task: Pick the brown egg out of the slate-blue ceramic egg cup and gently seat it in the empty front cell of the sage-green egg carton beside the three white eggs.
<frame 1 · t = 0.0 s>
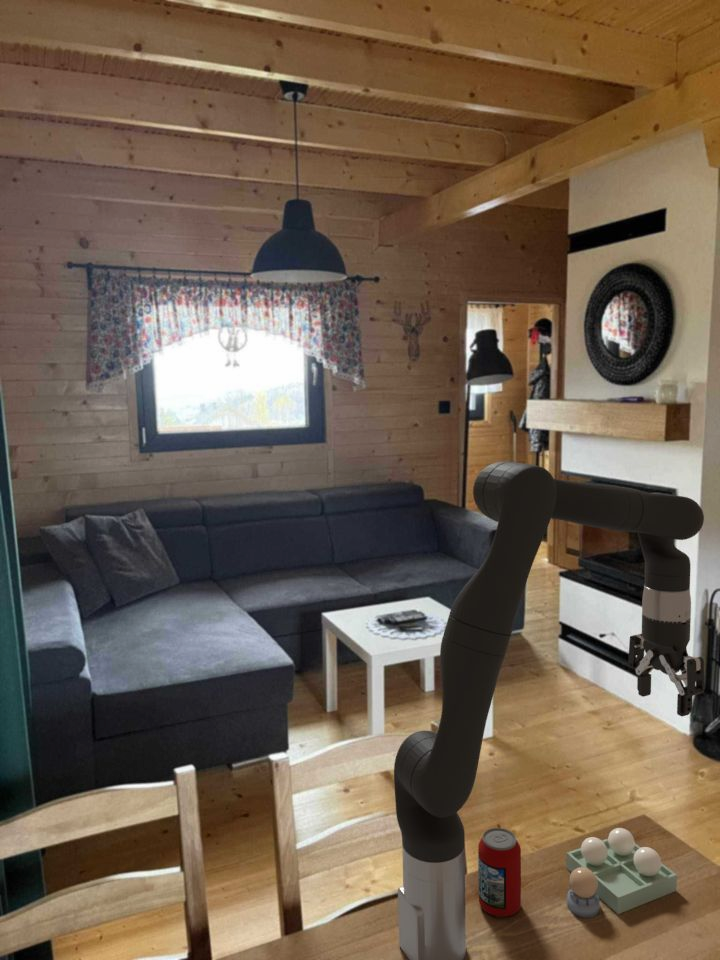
hand: (663, 704, 125), 29 cm above the table, tool pointing down, fingers open, 8 cm apart
white egg A: (594, 863, 127), point 2 cm above the table, touching egg carton
white egg B: (647, 873, 124), point 2 cm above the table, touching egg carton
beverage can: (499, 907, 120), on the table
brown egg: (583, 895, 119), point 2 cm above the table, touching egg cup
white egg C: (621, 853, 129), point 2 cm above the table, touching egg carton
egg cup: (583, 906, 119), on the table
egg carton: (620, 879, 125), on the table
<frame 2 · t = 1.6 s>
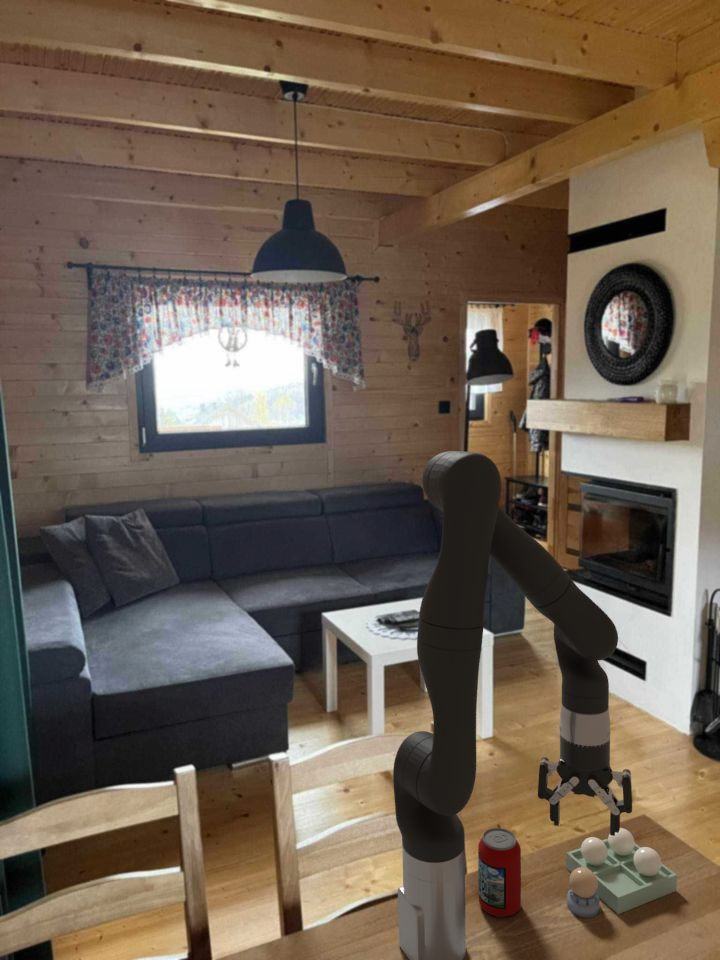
hand: (584, 827, 117), 14 cm above the table, tool pointing down, fingers open, 8 cm apart
nothing on the table moved.
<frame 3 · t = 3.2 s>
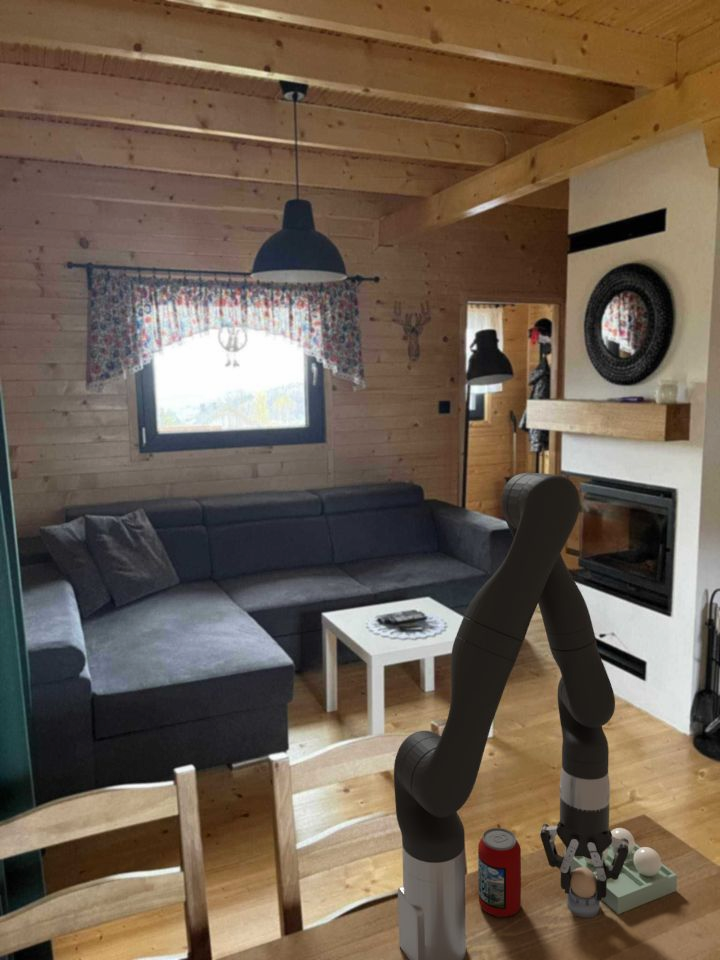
hand: (583, 893, 119), 2 cm above the table, tool pointing down, fingers closed on brown egg, 4 cm apart
brown egg: (583, 895, 119), point 2 cm above the table, touching egg cup, gripper
everything else where it was.
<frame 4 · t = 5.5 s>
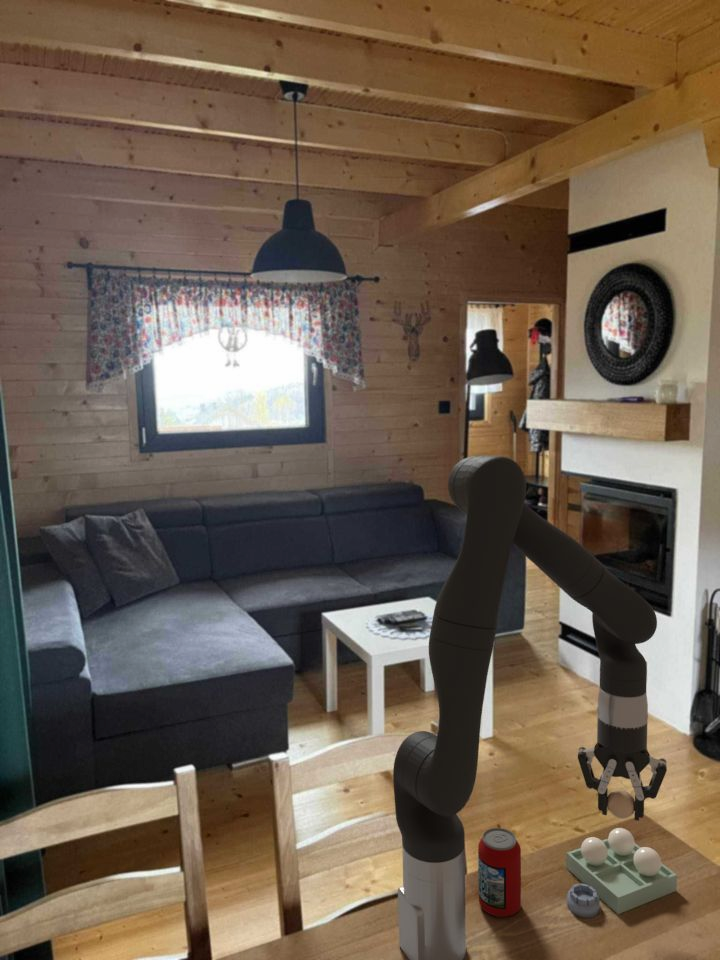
hand: (620, 814, 120), 14 cm above the table, tool pointing down, fingers closed on brown egg, 4 cm apart
brown egg: (620, 816, 120), point 14 cm above the table, touching gripper
everything else where it was.
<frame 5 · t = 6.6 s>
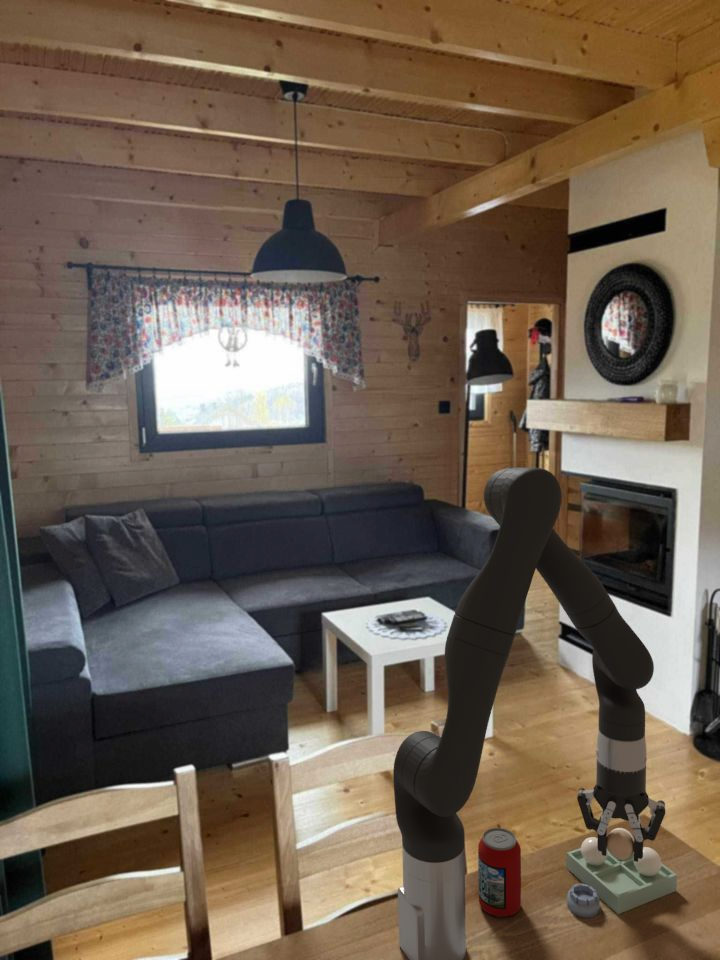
hand: (619, 855, 121), 7 cm above the table, tool pointing down, fingers closed on brown egg, 4 cm apart
brown egg: (620, 856, 121), point 7 cm above the table, touching gripper
everything else where it was.
when the fingers open (3 cm above the table, at t = 7.7 s): brown egg drops 1 cm, resting on egg carton.
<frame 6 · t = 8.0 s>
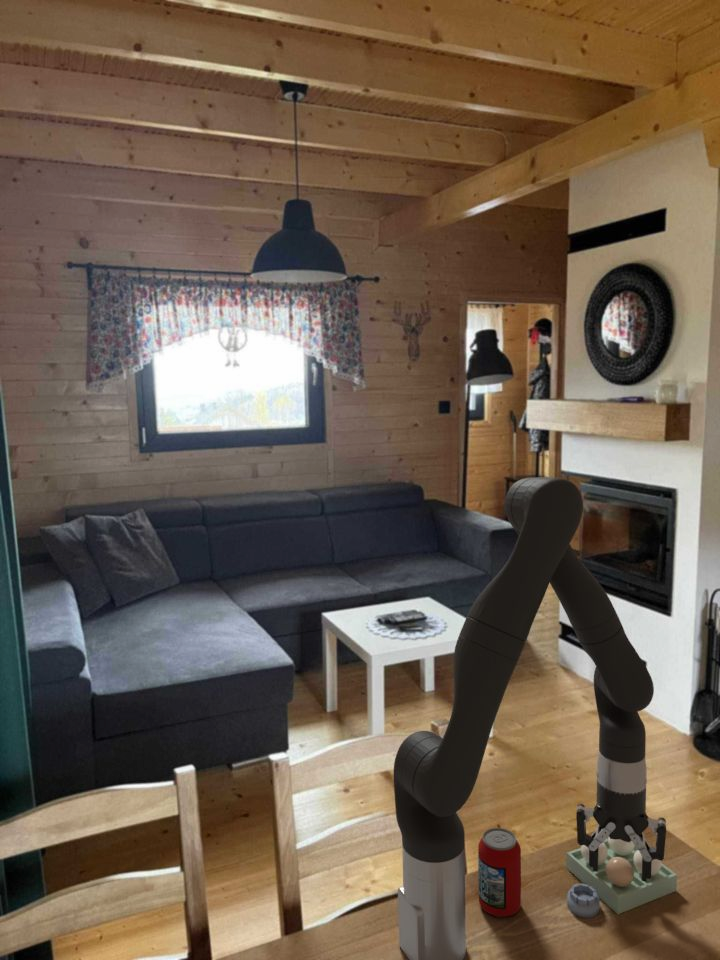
hand: (619, 873, 121), 4 cm above the table, tool pointing down, fingers open, 7 cm apart
brown egg: (619, 884, 121), point 2 cm above the table, touching egg carton
everything else where it was.
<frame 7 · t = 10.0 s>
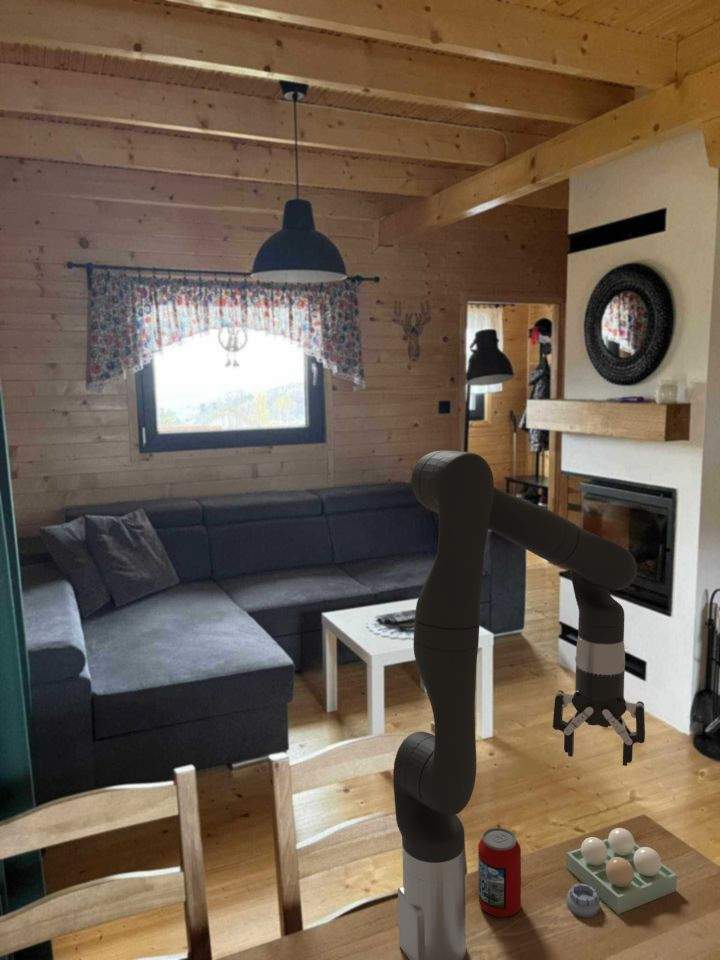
hand: (597, 759, 121), 23 cm above the table, tool pointing down, fingers open, 8 cm apart
nothing on the table moved.
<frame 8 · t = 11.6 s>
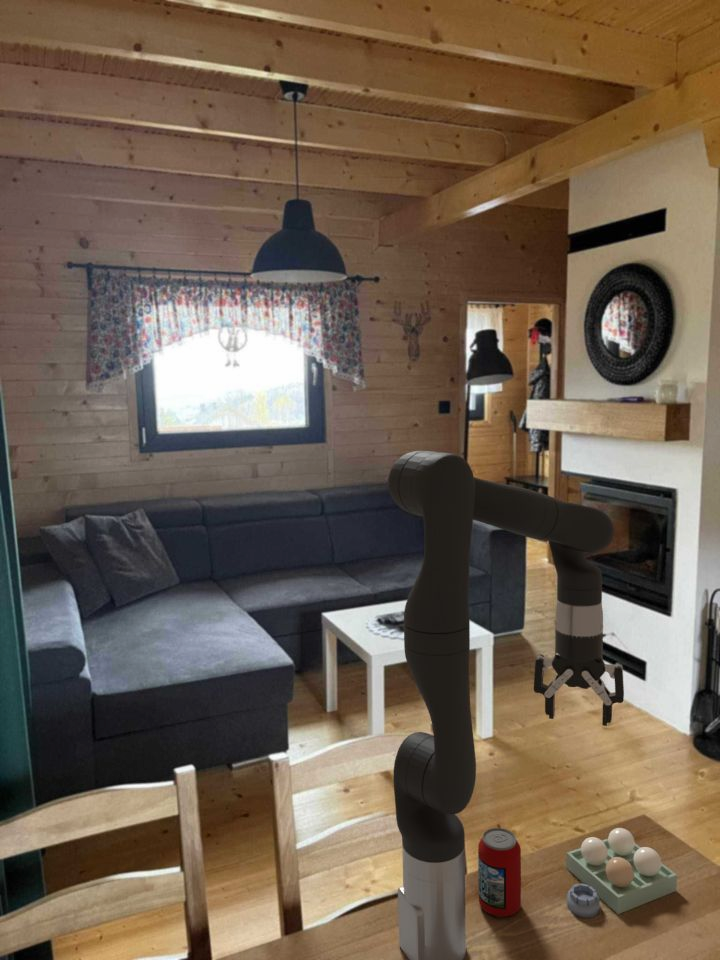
hand: (577, 720, 123), 28 cm above the table, tool pointing down, fingers open, 8 cm apart
nothing on the table moved.
at the end: brown egg 0.0 cm from the target spot on the egg carton, point 2.0 cm above the egg carton's base; the gripper is holding nothing; white egg A moved 0.0 cm from its start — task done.
